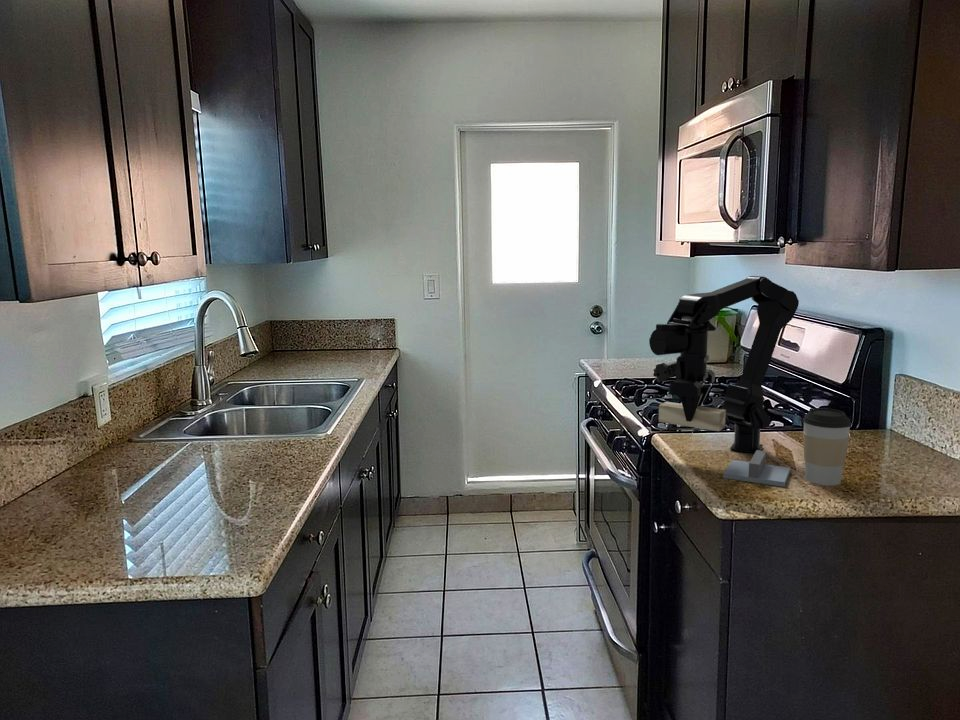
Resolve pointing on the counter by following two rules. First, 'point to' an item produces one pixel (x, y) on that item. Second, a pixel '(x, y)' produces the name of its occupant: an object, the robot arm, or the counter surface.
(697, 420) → the ash bar
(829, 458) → the coffee cup
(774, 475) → the ridge stand
